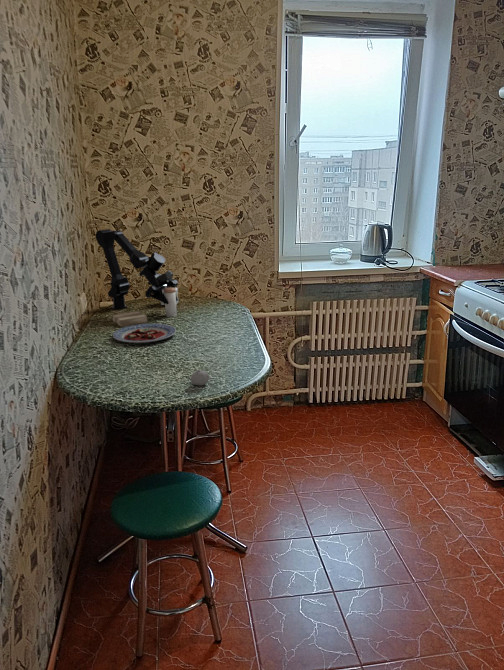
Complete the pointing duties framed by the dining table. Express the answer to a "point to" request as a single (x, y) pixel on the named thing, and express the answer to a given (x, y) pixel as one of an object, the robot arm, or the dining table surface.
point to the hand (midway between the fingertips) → (172, 302)
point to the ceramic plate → (144, 333)
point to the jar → (170, 301)
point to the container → (176, 292)
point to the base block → (129, 318)
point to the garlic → (199, 377)
